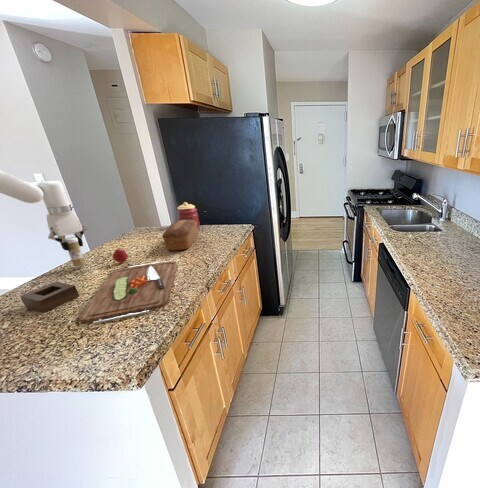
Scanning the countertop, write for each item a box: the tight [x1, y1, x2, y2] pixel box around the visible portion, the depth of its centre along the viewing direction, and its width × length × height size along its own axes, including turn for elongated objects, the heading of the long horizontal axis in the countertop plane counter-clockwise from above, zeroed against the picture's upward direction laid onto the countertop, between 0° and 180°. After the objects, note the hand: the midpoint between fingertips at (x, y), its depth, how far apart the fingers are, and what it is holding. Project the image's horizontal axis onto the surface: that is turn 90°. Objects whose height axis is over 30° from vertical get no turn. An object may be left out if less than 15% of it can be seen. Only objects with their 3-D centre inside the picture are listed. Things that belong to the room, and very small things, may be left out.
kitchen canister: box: [176, 201, 201, 228], centre depth 183 cm, size 13×13×18 cm
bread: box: [162, 219, 199, 251], centre depth 154 cm, size 14×28×12 cm, turn 12°
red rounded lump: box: [112, 248, 129, 264], centre depth 130 cm, size 6×6×8 cm
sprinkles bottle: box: [65, 236, 87, 267], centre depth 122 cm, size 5×5×13 cm
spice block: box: [19, 281, 80, 313], centre depth 99 cm, size 11×11×5 cm
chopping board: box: [78, 260, 178, 325], centre depth 109 cm, size 45×27×3 cm, turn 22°
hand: (73, 247), depth 121 cm, fingers closed on sprinkles bottle, 4 cm apart
